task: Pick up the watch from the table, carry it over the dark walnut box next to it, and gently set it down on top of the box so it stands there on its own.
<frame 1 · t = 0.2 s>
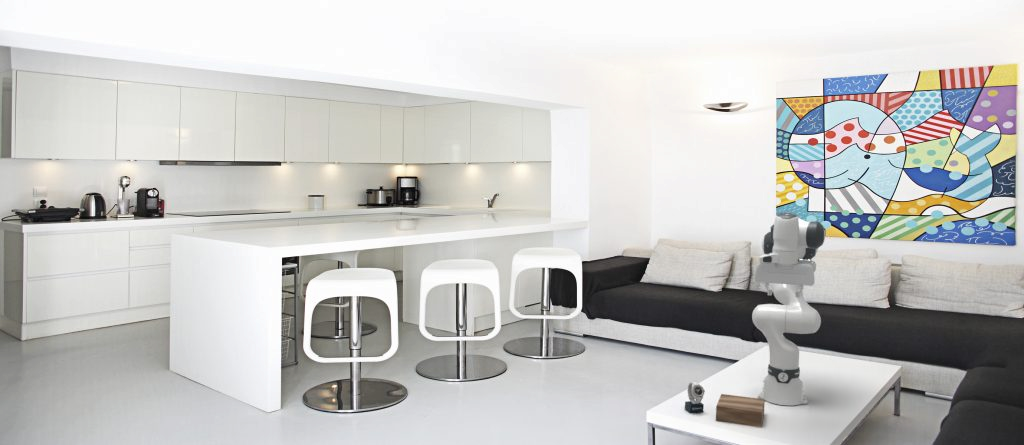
hand: (783, 296, 262), 48 cm above the table, tool pointing down, fingers open, 8 cm apart
watch: (694, 411, 280), on the table
walnut box: (740, 418, 273), on the table
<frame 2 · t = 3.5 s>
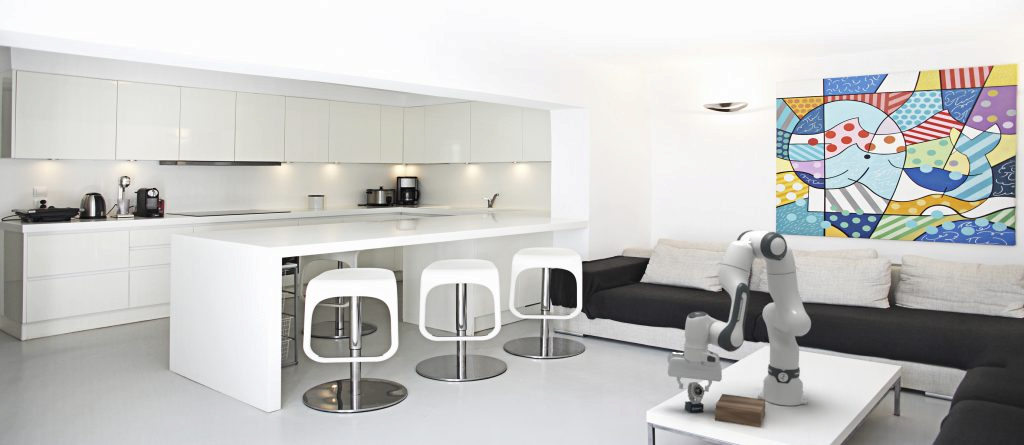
hand: (693, 389, 279), 8 cm above the table, tool pointing down, fingers open, 8 cm apart
watch: (694, 411, 280), on the table, touching gripper
everything else where it was.
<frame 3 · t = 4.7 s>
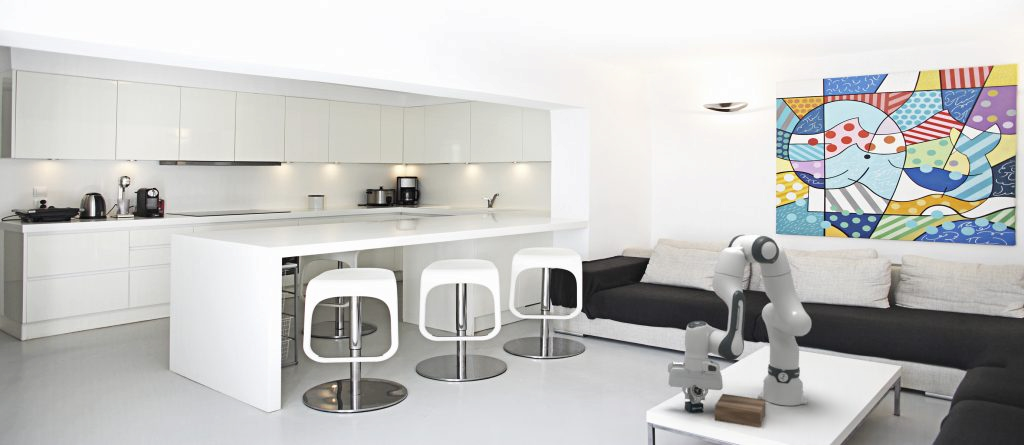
hand: (694, 399, 279), 5 cm above the table, tool pointing down, fingers open, 5 cm apart
nothing on the table moved.
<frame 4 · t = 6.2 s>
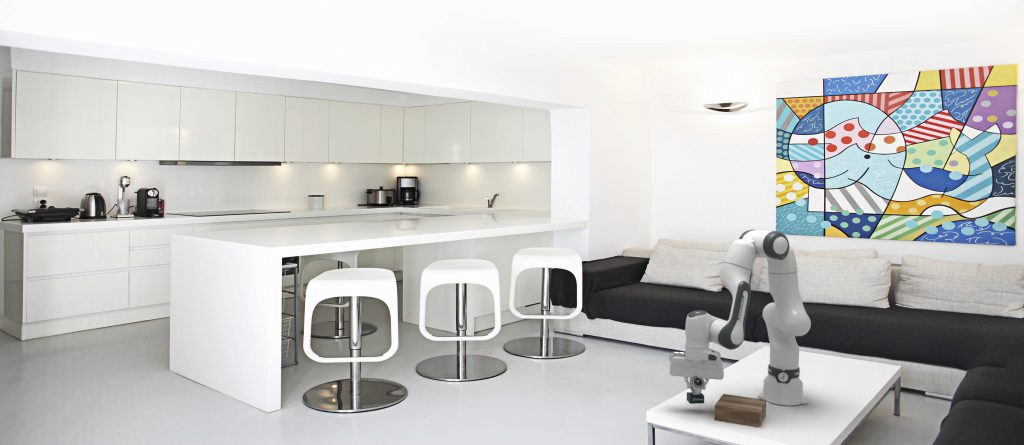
hand: (696, 388, 279), 9 cm above the table, tool pointing down, fingers closed on watch, 4 cm apart
watch: (695, 402, 279), point 3 cm above the table, touching gripper
everything else where it was.
when the fingers open (11 cm above the table, at t = 12.4 s): watch stays where it is, resting on walnut box.
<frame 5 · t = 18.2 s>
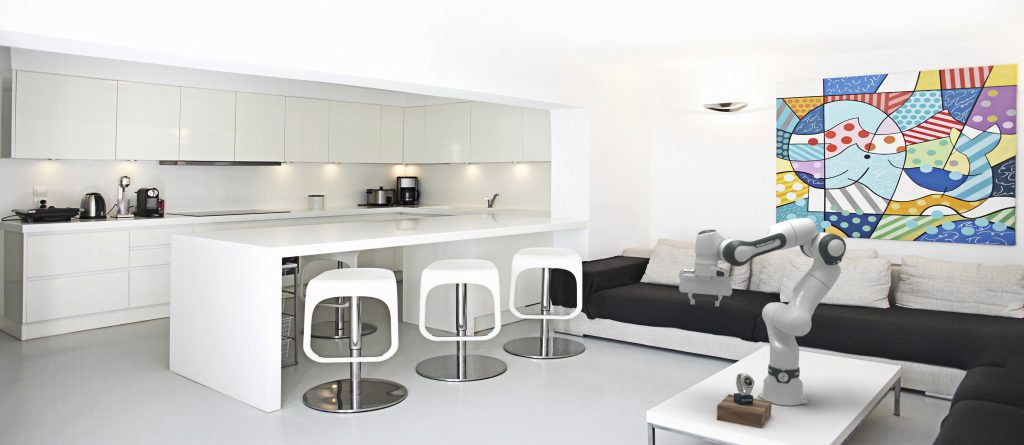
hand: (704, 305, 288), 39 cm above the table, tool pointing down, fingers open, 8 cm apart
watch: (743, 403, 273), point 5 cm above the table, touching walnut box
walnut box: (743, 419, 273), on the table, touching watch
at the end: watch inside the target area on the walnut box (0.5 cm from its centre), point 5.9 cm above the walnut box's base; watch tilted 2°; the gripper is holding nothing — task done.
